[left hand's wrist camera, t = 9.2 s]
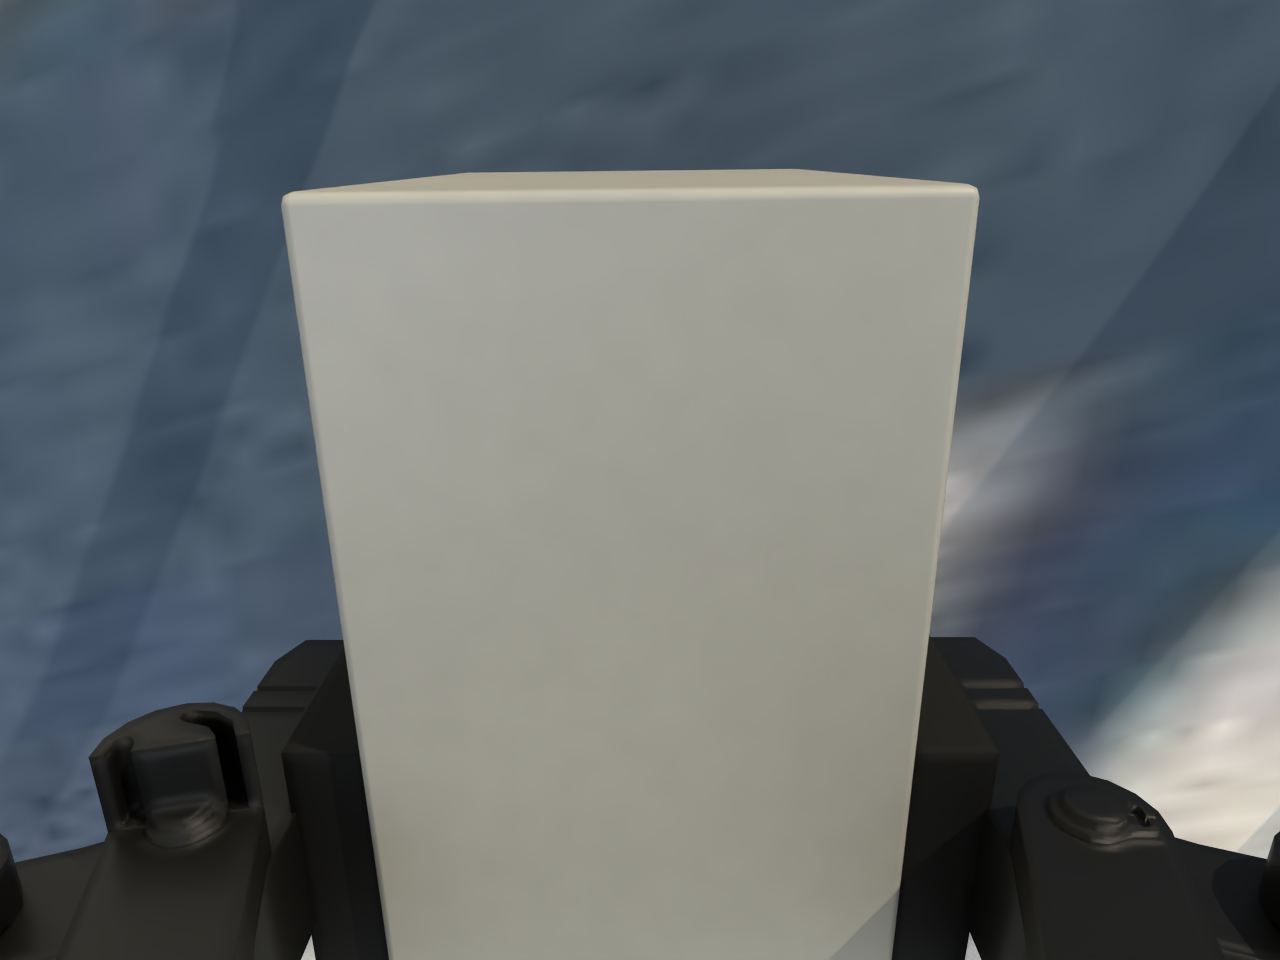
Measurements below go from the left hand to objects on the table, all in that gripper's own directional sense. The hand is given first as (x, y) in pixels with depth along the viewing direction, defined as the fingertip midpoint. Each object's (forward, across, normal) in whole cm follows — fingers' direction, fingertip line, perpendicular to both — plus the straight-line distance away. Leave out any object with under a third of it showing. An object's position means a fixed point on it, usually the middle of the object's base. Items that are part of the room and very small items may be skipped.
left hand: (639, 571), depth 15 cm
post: (+1, 0, -20) cm, 20 cm away
